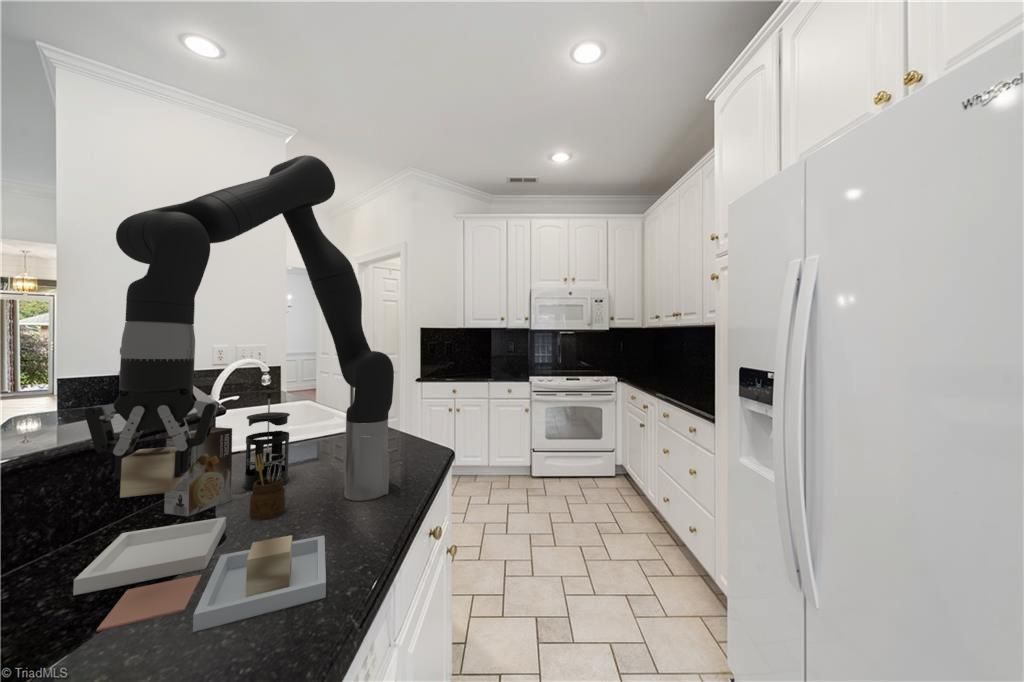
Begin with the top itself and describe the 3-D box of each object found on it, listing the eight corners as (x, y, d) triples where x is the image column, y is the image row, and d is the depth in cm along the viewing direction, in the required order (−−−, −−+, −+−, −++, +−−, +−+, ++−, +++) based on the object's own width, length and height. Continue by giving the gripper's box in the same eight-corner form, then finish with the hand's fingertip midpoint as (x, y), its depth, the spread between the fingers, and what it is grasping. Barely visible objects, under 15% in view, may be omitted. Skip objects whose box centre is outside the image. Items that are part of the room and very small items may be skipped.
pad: (201, 579, 55) (201, 574, 55) (184, 615, 48) (184, 608, 48) (127, 595, 51) (127, 589, 51) (96, 636, 44) (96, 629, 44)
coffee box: (208, 498, 83) (210, 426, 84) (232, 501, 82) (234, 427, 82) (162, 516, 74) (164, 435, 75) (188, 520, 73) (190, 437, 73)
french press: (278, 491, 88) (281, 393, 89) (233, 493, 86) (236, 393, 87) (297, 474, 100) (299, 387, 100) (258, 475, 98) (260, 387, 98)
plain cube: (291, 568, 57) (292, 535, 57) (289, 587, 53) (290, 551, 53) (251, 577, 55) (252, 542, 55) (245, 597, 50) (246, 560, 50)
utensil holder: (263, 525, 71) (265, 462, 72) (241, 519, 74) (242, 458, 74) (291, 512, 77) (293, 454, 77) (269, 507, 79) (271, 450, 79)
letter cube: (183, 480, 55) (184, 444, 55) (169, 492, 51) (171, 453, 51) (138, 484, 53) (139, 447, 53) (119, 497, 49) (121, 457, 49)
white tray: (225, 531, 69) (226, 516, 69) (205, 572, 57) (205, 554, 57) (121, 548, 63) (122, 533, 63) (73, 599, 50) (73, 579, 50)
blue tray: (324, 550, 63) (324, 535, 63) (325, 601, 51) (325, 582, 51) (220, 572, 57) (220, 555, 57) (192, 637, 44) (193, 614, 44)
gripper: (229, 356, 59) (224, 465, 58) (104, 354, 53) (97, 476, 52) (215, 357, 52) (210, 481, 52) (70, 355, 46) (62, 496, 46)
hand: (153, 478), depth 52 cm, fingers closed on letter cube, 5 cm apart
